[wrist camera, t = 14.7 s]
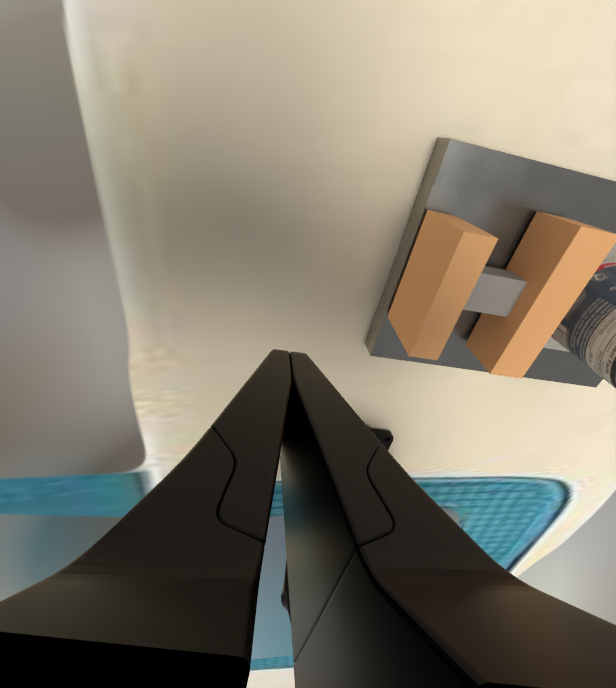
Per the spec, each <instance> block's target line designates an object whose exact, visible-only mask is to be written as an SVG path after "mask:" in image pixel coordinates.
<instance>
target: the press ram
mask: <svg viewBox="0 0 616 688" xmlns="http://www.w3.org/2000/svg"><path fill="white" fill-rule="evenodd" d="M497 241H498V238H497V237H495V236H493V235H491V234H489V233H487V232H485V231H483V230H482V229H480V228H478V227H476V226H474V225H472V224H470V223H468V222H466V221H465V220H463V219H461V218H459V217H457V216H455V215H450V214H446V213H441V212H437V211H432V210H427V213H426V215H425V218H424V221H423V223H422V226H421V229H420V231H419V234H418V237H417V239H416V242H415V245H414V247H413V250H412V253H411V255H410V258H409V261H408V263H407V266H406V269H405V271H404V274H403V277H402V279H401V282H400V285H399V287H398V290H397V293H396V295H395V298H394V301H393V303H392V306H391V309H390V311H389V314H388V318H389V320H390V322H391V324H392V326H393V328H394V330H395V331H396V333H397V335H398V337H399V339H400V341H401V343H402V344H403V346H404V348H405V350H406V352H407V354H408V356H411V357H418V358H425V359H432V360H438V358H439V356H440V354H441V352H442V350H443V348H444V346H445V344H446V342H447V340H448V338H449V336H450V334H451V332H452V330H453V328H454V326H455V324H456V322H457V320H458V318H459V316H460V314H461V312H462V310H469V311H475V312H481V313H482V314H481V316H480V318H479V320H478V322H477V323H476V325H475V327H474V329H473V331H472V333H471V335H470V336H469V338H468V340H467V342H466V345H467V347H468V348H469V349H470V350H471V352H472V353H473V354H474V355H475V356H476V358H477V359H478V360H479V361H480V362H481V364H482V365H483V366H484V367H485V368H486V370H487V371H488V372H489V373H490V374H494V375H502V376H509V377H516V378H523V376H524V375H525V373H526V372H527V370H528V369H529V367H530V366H531V365H532V363H533V362H534V360H535V359H536V357H537V356H538V354H539V353H540V351H541V350H542V349H543V347H544V346H545V344H546V343H547V341H548V340H549V338H550V337H551V336H552V334H553V333H554V331H555V330H556V328H557V327H558V325H559V324H560V322H561V321H562V320H563V318H564V317H565V315H566V314H567V312H568V311H569V309H570V308H571V307H572V305H573V304H574V302H575V301H576V299H577V298H578V296H579V295H580V293H581V292H582V291H583V289H584V288H585V286H586V285H587V283H588V282H589V280H590V279H591V277H592V276H593V275H594V273H595V272H596V270H597V269H598V267H599V266H600V264H601V263H602V262H603V260H604V259H605V257H606V256H607V254H608V253H609V251H610V250H611V248H612V247H613V246H614V244H615V243H616V234H615V233H612V232H609V231H606V230H603V229H600V228H597V227H594V226H591V225H588V224H585V223H581V222H578V221H575V220H572V219H569V218H564V217H560V216H556V215H551V214H547V213H543V212H538V211H537V212H536V214H535V216H534V218H533V220H532V222H531V223H530V225H529V227H528V229H527V231H526V233H525V234H524V236H523V238H522V240H521V242H520V244H519V246H518V247H517V249H516V251H515V253H514V255H513V257H512V259H511V260H510V262H509V264H508V266H507V268H506V270H503V269H498V268H493V267H488V266H485V264H486V262H487V261H488V259H489V257H490V255H491V253H492V251H493V249H494V247H495V245H496V243H497Z"/></svg>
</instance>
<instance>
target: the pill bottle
mask: <svg viewBox="0 0 616 688" xmlns="http://www.w3.org/2000/svg"><path fill="white" fill-rule="evenodd" d="M551 337H552V338H553V339H554V340H555V341H557V342H558V343H559V344H561V345H562V346H563V347H564V348H566V349H567V350H568V351H569V352H571V353H572V354H573V355H574V356H576V357H577V358H578V359H579V360H581V361H582V362H583V363H584V364H586V365H587V366H588V367H590V368H591V369H592V370H593V371H595V372H596V373H597V374H598V375H600V376H601V377H602V378H603V379H605V380H606V381H607V382H608V383H610V384H611V385H612V386H613V387H615V388H616V261H610V260H609V261H603V262H602V263H601V264H600V266H599V267H598V269H597V270H596V272H595V273H594V275H593V276H592V277H591V279H590V280H589V282H588V283H587V285H586V286H585V288H584V289H583V291H582V292H581V293H580V295H579V296H578V298H577V299H576V301H575V302H574V304H573V305H572V307H571V308H570V309H569V311H568V312H567V314H566V315H565V317H564V318H563V320H562V321H561V322H560V324H559V325H558V327H557V328H556V330H555V331H554V333H553V334H552V336H551Z"/></svg>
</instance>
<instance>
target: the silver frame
mask: <svg viewBox="0 0 616 688" xmlns="http://www.w3.org/2000/svg"><path fill="white" fill-rule="evenodd" d="M427 210H432V211H437V212H441V213H446V214H450V215H455V216H457V217H459V218H461V219H463V220H465V221H466V222H468V223H470V224H472V225H474V226H476V227H478V228H480V229H482V230H483V231H485V232H487V233H489V234H491V235H493V236H495V237H497V238H498V241H497V243H496V245H495V247H494V249H493V251H492V253H491V255H490V257H489V259H488V261H487V262H486V264H485V266H488V267H493V268H498V269H503V270H506V268H507V266H508V264H509V262H510V260H511V259H512V257H513V255H514V253H515V251H516V249H517V247H518V246H519V244H520V242H521V240H522V238H523V236H524V234H525V233H526V231H527V229H528V227H529V225H530V223H531V222H532V220H533V218H534V216H535V214H536V212H537V211H538V212H543V213H547V214H551V215H556V216H560V217H564V218H569V219H572V220H575V221H578V222H581V223H585V224H588V225H591V226H594V227H597V228H600V229H603V230H606V231H609V232H612V233H615V234H616V182H615V181H611V180H607V179H603V178H600V177H596V176H592V175H588V174H584V173H580V172H577V171H573V170H569V169H565V168H561V167H557V166H553V165H550V164H546V163H542V162H538V161H534V160H530V159H527V158H523V157H519V156H515V155H511V154H507V153H503V152H500V151H496V150H492V149H488V148H484V147H480V146H477V145H473V144H469V143H465V142H461V141H457V140H453V139H448V138H438V139H437V142H436V144H435V147H434V150H433V153H432V156H431V159H430V161H429V164H428V167H427V170H426V173H425V176H424V178H423V181H422V184H421V187H420V190H419V193H418V195H417V198H416V201H415V204H414V207H413V210H412V212H411V215H410V218H409V221H408V224H407V227H406V229H405V232H404V235H403V238H402V241H401V244H400V246H399V249H398V252H397V255H396V258H395V261H394V263H393V266H392V269H391V272H390V275H389V278H388V281H387V283H386V286H385V289H384V292H383V295H382V298H381V300H380V303H379V306H378V309H377V312H376V315H375V317H374V320H373V323H372V326H371V329H370V332H369V334H368V337H367V340H366V345H367V348H368V351H369V353H370V356H377V357H385V358H392V359H399V360H406V361H413V362H420V363H427V364H434V365H441V366H448V367H455V368H462V369H469V370H477V371H484V372H488V371H487V370H486V368H485V367H484V366H483V365H482V364H481V362H480V361H479V360H478V359H477V358H476V356H475V355H474V354H473V353H472V352H471V350H470V349H469V348H468V347H467V345H466V342H467V340H468V338H469V336H470V335H471V333H472V331H473V329H474V327H475V325H476V323H477V322H478V320H479V318H480V316H481V314H482V313H481V312H475V311H469V310H462V312H461V314H460V316H459V318H458V320H457V322H456V324H455V326H454V328H453V330H452V332H451V334H450V336H449V338H448V340H447V342H446V344H445V346H444V348H443V350H442V352H441V354H440V356H439V358H438V360H432V359H425V358H418V357H411V356H408V354H407V352H406V350H405V348H404V346H403V344H402V343H401V341H400V339H399V337H398V335H397V333H396V331H395V330H394V328H393V326H392V324H391V322H390V320H389V318H388V314H389V311H390V309H391V306H392V303H393V301H394V298H395V295H396V293H397V290H398V287H399V285H400V282H401V279H402V277H403V274H404V271H405V269H406V266H407V263H408V261H409V258H410V255H411V253H412V250H413V247H414V245H415V242H416V239H417V237H418V234H419V231H420V229H421V226H422V223H423V221H424V218H425V215H426V213H427ZM609 260H610V261H616V243H615V244H614V246H613V247H612V248H611V250H610V251H609V253H608V254H607V256H606V257H605V259H604V260H603V261H609ZM523 377H526V378H533V379H540V380H547V381H554V382H561V383H569V384H576V385H583V386H590V387H597V385H598V384H599V383H600V382H601V381H602V380H603V378H602V377H601V376H600V375H598V374H597V373H596V372H595V371H593V370H592V369H591V368H590V367H588V366H587V365H586V364H584V363H583V362H582V361H581V360H579V359H578V358H577V357H576V356H574V355H573V354H572V353H571V352H569V351H568V350H567V349H566V348H564V347H563V346H562V345H561V344H559V343H558V342H557V341H555V340H554V339H553V338H552V337H550V338H549V340H548V341H547V343H546V344H545V346H544V347H543V349H542V350H541V351H540V353H539V354H538V356H537V357H536V359H535V360H534V362H533V363H532V365H531V366H530V367H529V369H528V370H527V372H526V373H525V375H524V376H523Z"/></svg>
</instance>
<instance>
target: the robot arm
mask: <svg viewBox="0 0 616 688" xmlns="http://www.w3.org/2000/svg"><path fill="white" fill-rule="evenodd" d="M386 437H387V438H386ZM392 441H393V436H392V433H391V432H389V431H380V430H371V429H369V428H368V427H367V426H366V424H365V423H364V422H363V421H362V420H361V419H360V417H359V416H358V415H357V414H356V413H355V411H354V410H353V409H352V408H351V407H350V405H349V404H348V403H347V402H346V401H345V399H344V398H343V397H342V396H341V395H340V393H339V392H338V391H337V390H336V389H335V388H334V386H333V385H332V384H331V383H330V382H329V380H328V379H327V378H326V377H325V376H324V374H323V373H322V372H321V371H320V370H319V368H318V367H317V366H316V365H315V364H314V362H313V361H312V360H311V359H310V358H309V357H308V355H307V354H305V353H298V352H290V353H289V352H288V351H284V350H276V349H273V350H272V351H271V352H270V353H269V355H268V356H267V357H266V358H265V359H264V361H263V362H262V363H261V364H260V366H259V367H258V368H257V369H256V371H255V372H254V373H253V374H252V376H251V377H250V378H249V379H248V381H247V382H246V383H245V384H244V386H243V387H242V388H241V389H240V391H239V392H238V393H237V394H236V396H235V397H234V398H233V399H232V401H231V402H230V403H229V404H228V406H227V407H226V408H225V409H224V411H223V412H222V413H221V414H220V416H219V417H218V418H217V419H216V420H215V422H214V423H213V424H212V425H211V428H209V429H208V430H207V431H206V433H205V434H204V435H203V436H202V438H201V439H200V440H199V441H198V442H197V444H196V445H195V446H194V447H193V448H192V449H191V451H190V452H189V453H188V454H187V455H186V456H185V457H184V459H183V460H182V461H181V462H180V463H179V464H178V465H177V466H176V467H175V468H174V469H173V470H172V471H171V472H170V473H169V474H168V475H167V476H166V477H165V478H164V479H163V480H162V481H161V482H160V483H159V484H157V485H156V486H155V487H154V488H153V489H152V490H151V491H150V492H149V493H148V494H147V495H146V496H145V497H144V498H143V499H142V500H141V501H140V502H139V503H138V504H136V505H135V506H134V507H133V508H132V509H131V510H130V511H129V512H128V513H127V514H126V515H125V516H124V517H123V518H122V519H121V520H120V521H119V522H118V523H117V524H116V525H114V526H113V527H112V528H111V529H110V530H109V531H108V532H107V533H106V534H105V535H104V536H103V537H102V538H101V539H100V540H99V541H97V542H96V543H95V544H94V545H93V546H92V547H91V548H90V549H88V550H87V551H86V552H85V553H84V554H82V555H81V556H80V557H78V558H77V559H76V560H74V561H73V562H71V563H70V564H69V565H67V566H66V567H64V568H63V569H61V570H60V571H58V572H56V573H55V574H53V575H52V576H50V577H48V578H46V579H44V580H42V581H40V582H38V583H36V584H34V585H32V586H30V587H28V588H26V589H25V590H22V591H21V592H18V593H17V594H15V595H13V596H11V597H9V598H7V599H5V600H3V601H1V602H0V688H246V686H247V682H248V677H249V672H250V664H251V654H252V643H253V634H254V625H255V615H256V605H257V596H258V587H259V580H260V573H261V566H262V560H263V553H264V546H265V542H266V535H267V530H268V524H269V518H270V512H271V506H272V500H273V494H274V488H275V482H276V476H277V470H278V464H279V458H280V460H281V476H282V491H283V506H284V521H285V537H286V552H287V560H286V570H285V580H284V586H283V590H282V594H281V602H282V605H283V606H284V607H285V609H286V610H287V611H288V613H289V617H290V622H291V628H292V645H293V660H294V663H295V664H294V677H295V688H616V625H615V624H612V623H610V622H608V621H606V620H603V619H601V618H599V617H597V616H595V615H592V614H590V613H588V612H586V611H584V610H581V609H579V608H577V607H575V606H572V605H570V604H568V603H566V602H564V601H561V600H559V599H557V598H555V597H553V596H550V595H548V594H546V593H544V592H542V591H540V590H537V589H535V588H533V587H531V586H530V585H528V584H526V583H524V582H523V581H521V580H519V579H518V578H516V577H515V576H513V575H512V574H511V573H509V572H508V571H506V570H505V569H504V568H503V567H501V566H500V565H499V564H498V563H497V562H495V561H494V560H493V559H492V558H491V557H490V556H489V555H488V554H487V553H486V552H485V551H484V550H483V549H482V548H481V547H480V546H479V545H478V544H477V543H476V542H475V541H474V540H473V539H472V538H471V537H470V536H469V535H468V534H467V533H466V532H465V531H464V530H463V529H462V528H461V527H460V526H459V525H458V524H457V523H455V522H454V521H453V519H452V518H450V516H449V515H447V514H446V513H445V512H444V511H443V510H442V509H441V508H440V507H439V506H438V505H437V504H436V503H435V502H434V501H433V500H432V499H431V498H430V497H429V495H428V494H427V493H426V492H425V491H424V490H423V489H422V488H421V487H420V486H419V485H418V484H417V483H416V482H415V481H414V480H413V479H412V478H411V477H410V476H409V475H408V473H407V472H406V471H405V470H404V469H403V468H402V467H401V466H400V464H399V463H398V462H397V461H396V460H395V459H394V458H393V456H392V455H391V454H390V453H389V452H388V449H389V447H390V445H391V443H392Z"/></svg>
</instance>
